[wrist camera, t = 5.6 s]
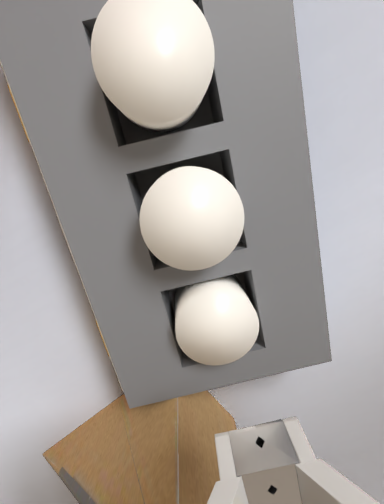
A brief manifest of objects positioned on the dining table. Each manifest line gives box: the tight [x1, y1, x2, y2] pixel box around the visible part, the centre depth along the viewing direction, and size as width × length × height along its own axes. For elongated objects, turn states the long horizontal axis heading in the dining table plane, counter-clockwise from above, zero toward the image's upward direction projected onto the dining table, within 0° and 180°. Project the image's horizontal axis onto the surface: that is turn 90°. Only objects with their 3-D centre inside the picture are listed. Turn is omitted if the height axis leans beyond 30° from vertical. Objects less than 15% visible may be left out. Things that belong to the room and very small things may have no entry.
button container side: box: [175, 274, 259, 366], centre depth 20 cm, size 5×5×4 cm
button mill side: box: [91, 0, 215, 132], centre depth 14 cm, size 5×5×4 cm
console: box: [0, 0, 332, 409], centre depth 18 cm, size 15×24×4 cm, turn 13°
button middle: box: [139, 166, 244, 271], centre depth 16 cm, size 5×5×4 cm
